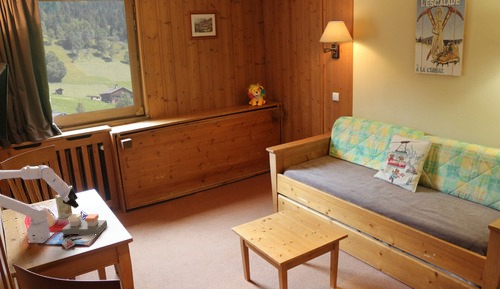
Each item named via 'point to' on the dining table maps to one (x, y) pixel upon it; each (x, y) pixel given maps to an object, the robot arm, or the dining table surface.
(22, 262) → the dining table surface
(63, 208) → the skincare box
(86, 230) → the panel
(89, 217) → the terracotta plunger
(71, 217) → the cream cube block
